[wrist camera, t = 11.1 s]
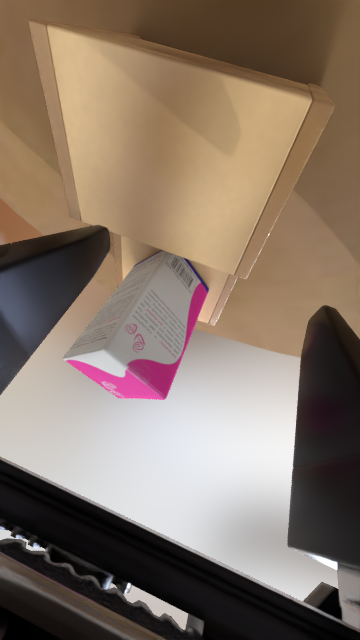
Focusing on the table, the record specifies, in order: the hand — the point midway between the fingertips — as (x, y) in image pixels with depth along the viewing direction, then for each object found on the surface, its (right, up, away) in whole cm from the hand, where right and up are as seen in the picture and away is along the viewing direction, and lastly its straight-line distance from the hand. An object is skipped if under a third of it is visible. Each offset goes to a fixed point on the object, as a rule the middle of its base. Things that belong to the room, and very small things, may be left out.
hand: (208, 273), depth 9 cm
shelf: (0, +8, +12) cm, 14 cm away
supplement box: (-2, +2, +13) cm, 14 cm away
